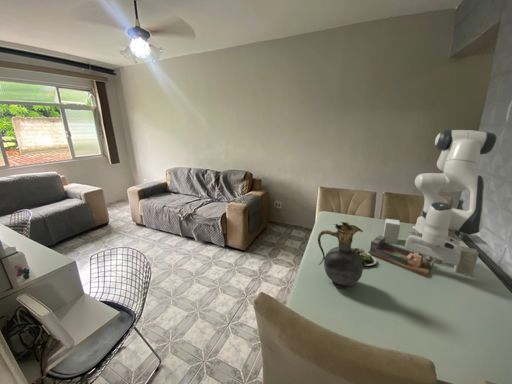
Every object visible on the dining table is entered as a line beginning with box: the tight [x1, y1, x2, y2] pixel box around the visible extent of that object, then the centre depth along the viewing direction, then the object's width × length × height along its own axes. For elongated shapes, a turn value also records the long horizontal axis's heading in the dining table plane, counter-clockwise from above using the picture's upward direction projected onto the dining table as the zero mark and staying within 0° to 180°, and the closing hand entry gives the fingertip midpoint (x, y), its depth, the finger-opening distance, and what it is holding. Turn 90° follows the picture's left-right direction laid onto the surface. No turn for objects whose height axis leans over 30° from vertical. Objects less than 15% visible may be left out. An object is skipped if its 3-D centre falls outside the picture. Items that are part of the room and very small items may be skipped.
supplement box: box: [382, 218, 401, 245], centre depth 130 cm, size 7×7×13 cm
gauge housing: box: [367, 234, 435, 278], centre depth 111 cm, size 13×26×8 cm, turn 39°
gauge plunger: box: [406, 253, 424, 267], centre depth 106 cm, size 8×6×5 cm
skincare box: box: [453, 245, 479, 277], centre depth 100 cm, size 6×4×12 cm
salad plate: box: [351, 247, 377, 269], centre depth 115 cm, size 19×18×5 cm
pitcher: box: [317, 221, 364, 289], centre depth 93 cm, size 11×19×30 cm, turn 65°
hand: (428, 263), depth 102 cm, fingers closed
